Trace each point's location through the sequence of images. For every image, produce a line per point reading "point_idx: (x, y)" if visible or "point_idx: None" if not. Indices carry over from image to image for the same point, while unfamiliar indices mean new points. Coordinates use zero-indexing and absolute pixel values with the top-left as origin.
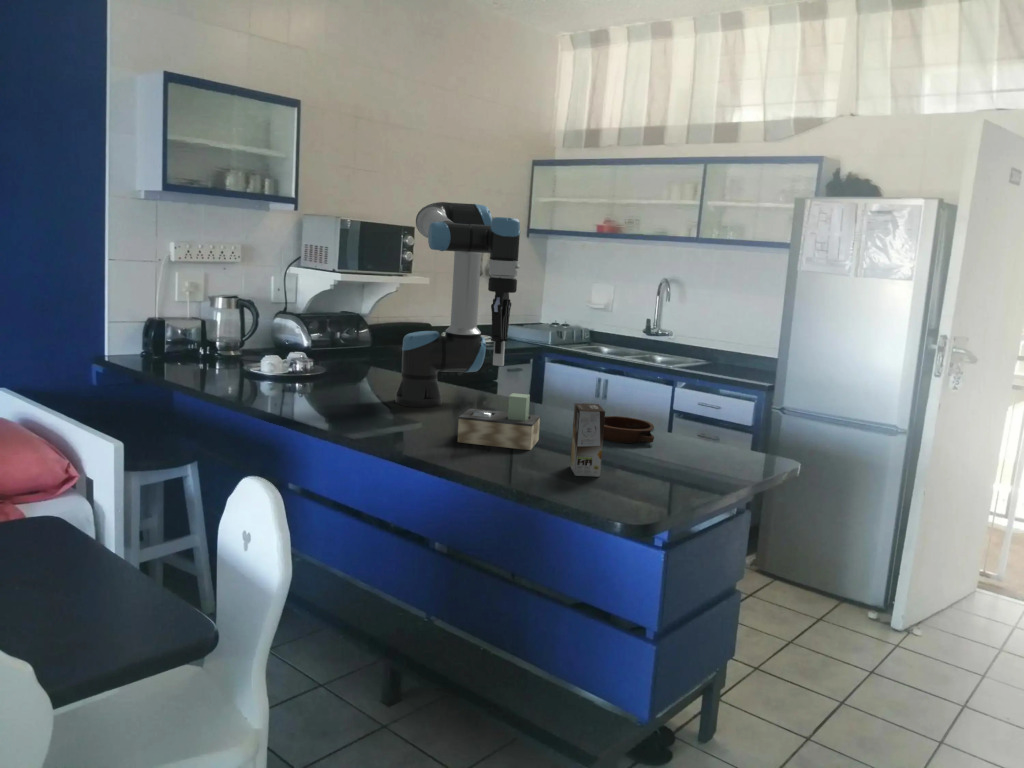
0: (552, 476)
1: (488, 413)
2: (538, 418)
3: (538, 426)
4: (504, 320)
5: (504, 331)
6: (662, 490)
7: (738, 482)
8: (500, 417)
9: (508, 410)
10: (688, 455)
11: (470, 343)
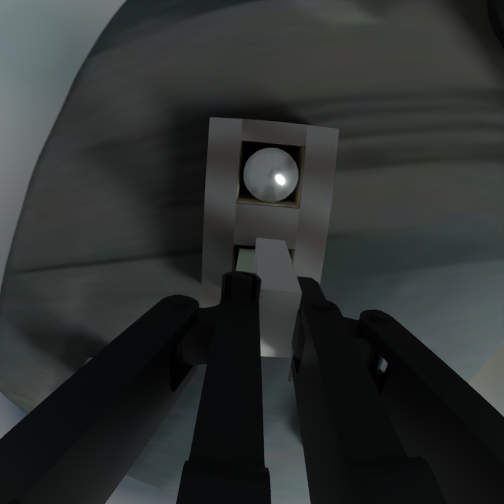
0: (71, 328)
1: (263, 194)
2: None
3: None
4: (312, 473)
5: (297, 399)
6: None
7: (172, 490)
8: (248, 230)
9: (238, 259)
10: (274, 474)
11: None
